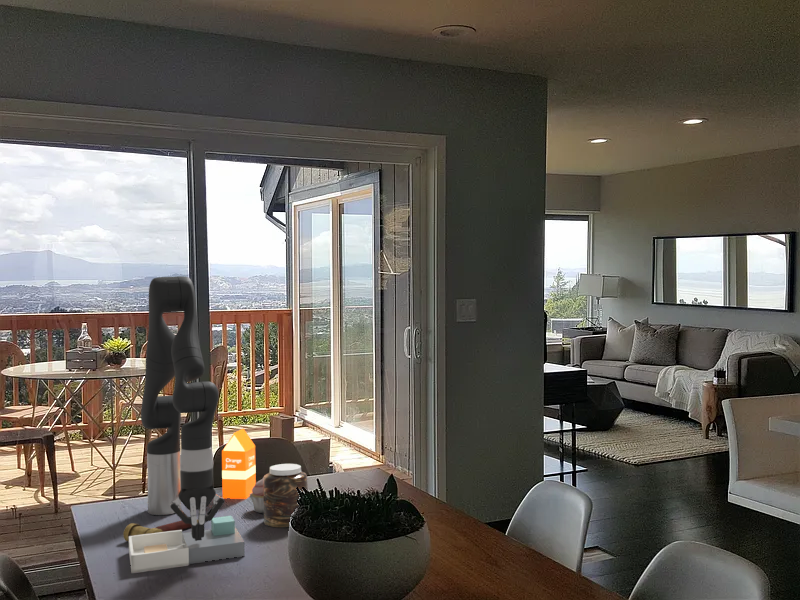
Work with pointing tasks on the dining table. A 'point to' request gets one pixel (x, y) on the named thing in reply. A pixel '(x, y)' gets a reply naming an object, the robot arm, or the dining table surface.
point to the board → (213, 546)
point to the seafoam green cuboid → (223, 525)
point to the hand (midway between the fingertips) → (197, 539)
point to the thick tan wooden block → (155, 548)
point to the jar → (282, 493)
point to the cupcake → (258, 496)
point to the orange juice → (238, 466)
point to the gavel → (153, 529)
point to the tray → (159, 559)
